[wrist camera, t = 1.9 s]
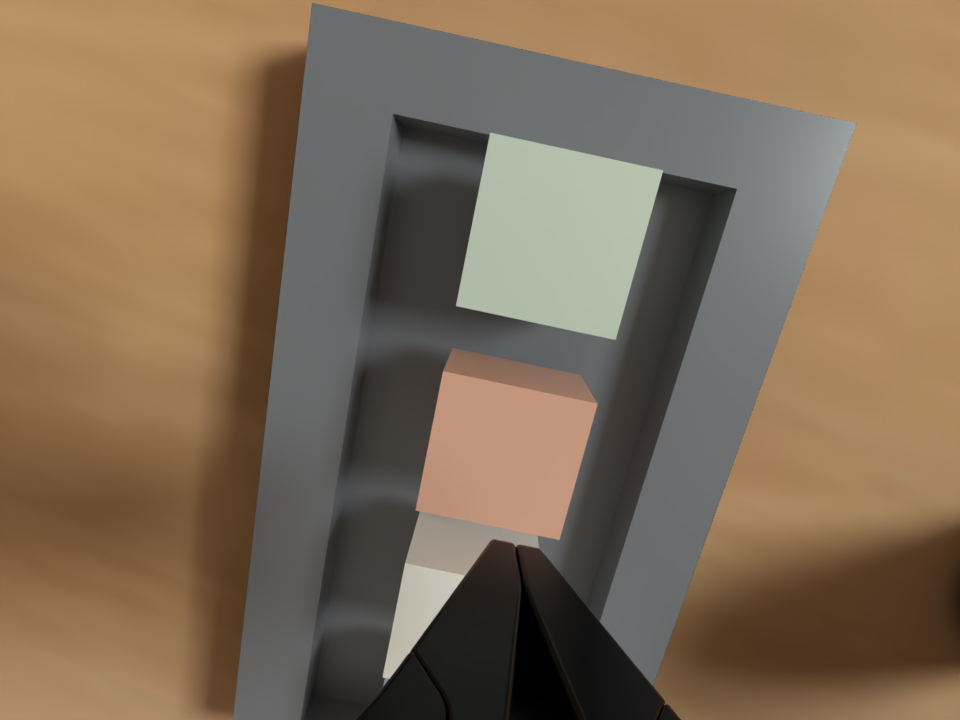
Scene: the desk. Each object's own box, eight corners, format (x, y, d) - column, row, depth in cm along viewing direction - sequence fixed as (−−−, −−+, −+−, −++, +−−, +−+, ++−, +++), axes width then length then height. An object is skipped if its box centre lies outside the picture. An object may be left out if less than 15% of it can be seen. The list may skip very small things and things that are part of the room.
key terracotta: (549, 490, 15) (559, 540, 13) (429, 465, 15) (415, 510, 13) (580, 375, 15) (597, 404, 12) (452, 347, 14) (442, 371, 12)
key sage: (594, 321, 14) (615, 339, 12) (463, 294, 14) (455, 306, 12) (631, 183, 13) (663, 170, 11) (491, 152, 13) (490, 132, 11)
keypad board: (587, 767, 21) (598, 836, 19) (259, 702, 21) (227, 763, 18) (798, 142, 15) (856, 123, 13) (342, 41, 15) (312, 2, 12)
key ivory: (511, 633, 17) (513, 703, 14) (399, 610, 17) (382, 677, 14) (537, 535, 16) (544, 591, 13) (420, 511, 16) (404, 563, 13)
